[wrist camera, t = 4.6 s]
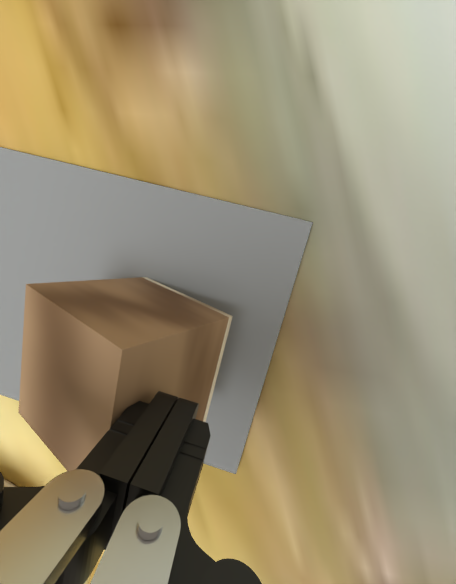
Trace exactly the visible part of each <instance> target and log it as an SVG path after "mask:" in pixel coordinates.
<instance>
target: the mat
mask: <svg viewBox="0 0 456 584" xmlns="http://www.w3.org/2000/svg"><path fill="white" fill-rule="evenodd" d="M312 223H313V222H309V221H305V220H301V219H297V218H293V217H289V216H284V215H280V214H276V213H272V212H268V211H264V210H259V209H255V208H251V207H247V206H243V205H239V204H235V203H230V202H226V201H222V200H218V199H214V198H210V197H205V196H201V195H197V194H193V193H189V192H185V191H180V190H176V189H172V188H168V187H164V186H160V185H156V184H151V183H147V182H143V181H139V180H135V179H131V178H126V177H122V176H118V175H114V174H110V173H106V172H101V171H97V170H93V169H89V168H85V167H81V166H77V165H72V164H68V163H64V162H60V161H56V160H52V159H47V158H43V157H39V156H35V155H31V154H27V153H23V152H18V151H14V150H10V149H6V148H2V147H0V395H3V396H6V397H9V398H12V399H15V400H18V401H19V397H20V379H21V361H22V343H23V326H24V308H25V290H26V284H34V283H51V282H69V281H86V280H104V279H121V278H139V277H147V278H149V279H152V280H154V281H156V282H158V283H160V284H163V285H165V286H167V287H169V288H172V289H174V290H176V291H178V292H180V293H183V294H185V295H187V296H189V297H191V298H194V299H196V300H198V301H200V302H202V303H205V304H207V305H209V306H211V307H214V308H216V309H218V310H220V311H222V312H225V313H227V314H229V315H231V316H233V317H232V321H231V325H230V329H229V333H228V337H227V340H226V344H225V348H224V352H223V356H222V360H221V364H220V368H219V372H218V376H217V379H216V383H215V387H214V391H213V395H212V399H211V403H210V407H209V411H208V415H207V418H206V423H208V425H209V430H210V435H211V436H210V440H209V444H208V447H207V451H206V455H205V459H204V462H203V463H204V464H207V465H210V466H213V467H216V468H219V469H222V470H225V471H228V472H231V473H234V474H236V472H237V469H238V465H239V462H240V459H241V456H242V452H243V449H244V446H245V442H246V439H247V436H248V433H249V429H250V426H251V423H252V420H253V416H254V413H255V410H256V406H257V403H258V400H259V397H260V393H261V390H262V387H263V384H264V380H265V377H266V374H267V370H268V367H269V364H270V361H271V357H272V354H273V351H274V348H275V344H276V341H277V338H278V334H279V331H280V328H281V325H282V321H283V318H284V315H285V312H286V308H287V305H288V302H289V298H290V295H291V292H292V289H293V285H294V282H295V279H296V276H297V272H298V269H299V266H300V262H301V259H302V256H303V253H304V249H305V246H306V243H307V240H308V236H309V233H310V230H311V226H312Z"/></svg>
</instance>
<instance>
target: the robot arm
mask: <svg viewBox="0 0 456 584" xmlns="http://www.w3.org/2000/svg"><path fill="white" fill-rule="evenodd" d="M198 407H199V403H196V402H192V401H189V400H186V399H183V398H178V397H177V396H173V395H170V394H167V393H164V392H161V391H158V392H157V394H156V395H155V396H154V398H153V399H152V401H151V402H150V403H149V404H148V403H145V402H142V401H138V402H136V403H135V404H133V405H131V406H129V407H127V408H126V409H125V410H124V412H123V413H122V414H121V415H120V417H119V418H118V419H117V421H115V423H114V424H113V425H112V426H111V427H110V430H109V431H107V432H106V433H105V435H104V436H103V437H102V438H101V440H100V441H99V442H98V443H97V444H96V446H95V447H94V448H93V449H92V450H91V452H90V453H89V454H88V455H87V456H86V458H85V459H84V460H83V461H82V463H81V464H80V465H79V466H78V467H77V468H76V469H75V470H71V471H67V472H65V473H62V474H60V475H58V476H57V477H55V478H54V479H52V480H51V481H50V482H49V483H48V484H47V485H46V486H41V487H4V478H3V475H2V473H1V472H0V584H88V583H89V580H90V576H91V573H92V571H93V569H94V567H95V565H96V563H97V561H98V559H99V558H100V556H101V554H102V552H103V550H105V552H104V554H103V557H102V559H101V561H100V563H99V565H98V568H97V570H96V572H95V574H94V577H93V579H92V581H91V583H90V584H261V582H260V580H259V578H258V577H257V575H256V574H255V573H254V572H253V570H252V569H251V568H250V567H248V566H247V565H246V564H244V563H242V562H241V561H238V560H235V559H222V560H219V561H217V562H215V561H214V560H213V559H212V558H211V557H209V556H208V555H207V554H206V553H205V552H204V551H203V550H202V549H201V548H200V547H199V546H198V545H197V544H196V543H195V541H194V539H193V538H192V536H191V533H190V531H189V527H188V522H187V516H188V513H189V510H190V506H191V503H192V500H193V496H194V493H195V490H196V486H197V483H198V480H199V477H200V473H201V470H202V466H203V462H204V459H205V455H206V451H207V447H208V444H209V440H210V436H211V435H210V430H209V425H208V423H206V422H203V421H200V420H197V419H196V415H197V411H198Z"/></svg>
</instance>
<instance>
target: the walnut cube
mask: <svg viewBox="0 0 456 584" xmlns="http://www.w3.org/2000/svg"><path fill="white" fill-rule="evenodd" d="M232 317H233V316H231V315H229V314H227V313H225V312H222V311H220V310H218V309H216V308H214V307H211V306H209V305H207V304H205V303H202V302H200V301H198V300H196V299H194V298H191V297H189V296H187V295H185V294H183V293H180V292H178V291H176V290H174V289H172V288H169V287H167V286H165V285H163V284H160V283H158V282H156V281H154V280H152V279H149V278H147V277H139V278H121V279H104V280H86V281H69V282H51V283H34V284H26V290H25V308H24V326H23V343H22V361H21V379H20V397H19V413H20V415H21V416H22V417H23V418H24V419H25V421H26V422H27V423H28V424H29V425H30V427H31V428H32V429H33V430H34V431H35V433H36V434H37V435H38V436H39V437H40V439H41V440H42V441H43V442H44V443H45V445H46V446H47V447H48V448H49V449H50V451H51V452H52V453H53V454H54V455H55V456H56V458H57V459H58V460H59V461H60V462H61V464H62V465H63V466H64V467H65V468H66V470H67V471H71V470H75V469H76V468H77V467H78V466H79V465H80V464H81V463H82V461H83V460H84V459H85V458H86V456H87V455H88V454H89V453H90V452H91V450H92V449H93V448H94V447H95V446H96V444H97V443H98V442H99V441H100V440H101V438H102V437H103V436H104V435H105V433H106V432H107V431H109V430H110V427H111V426H112V425H113V424H114V423H115V421H117V419H118V418H119V417H120V415H121V414H122V413H123V412H124V410H125V409H126V408H127V407H129V406H131V405H133V404H135V403H136V402H138V401H142V402H145V403H148V404H149V403H150V402H151V401H152V399H153V398H154V396H155V395H156V394H157V392H158V391H161V392H164V393H167V394H170V395H173V396H177V397H178V398H183V399H186V400H189V401H192V402H196V403H199V407H198V411H197V415H196V419H197V420H200V421H203V422H206V418H207V415H208V411H209V407H210V403H211V399H212V395H213V391H214V387H215V383H216V379H217V376H218V372H219V368H220V364H221V360H222V356H223V352H224V348H225V344H226V340H227V337H228V333H229V329H230V325H231V321H232Z"/></svg>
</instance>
